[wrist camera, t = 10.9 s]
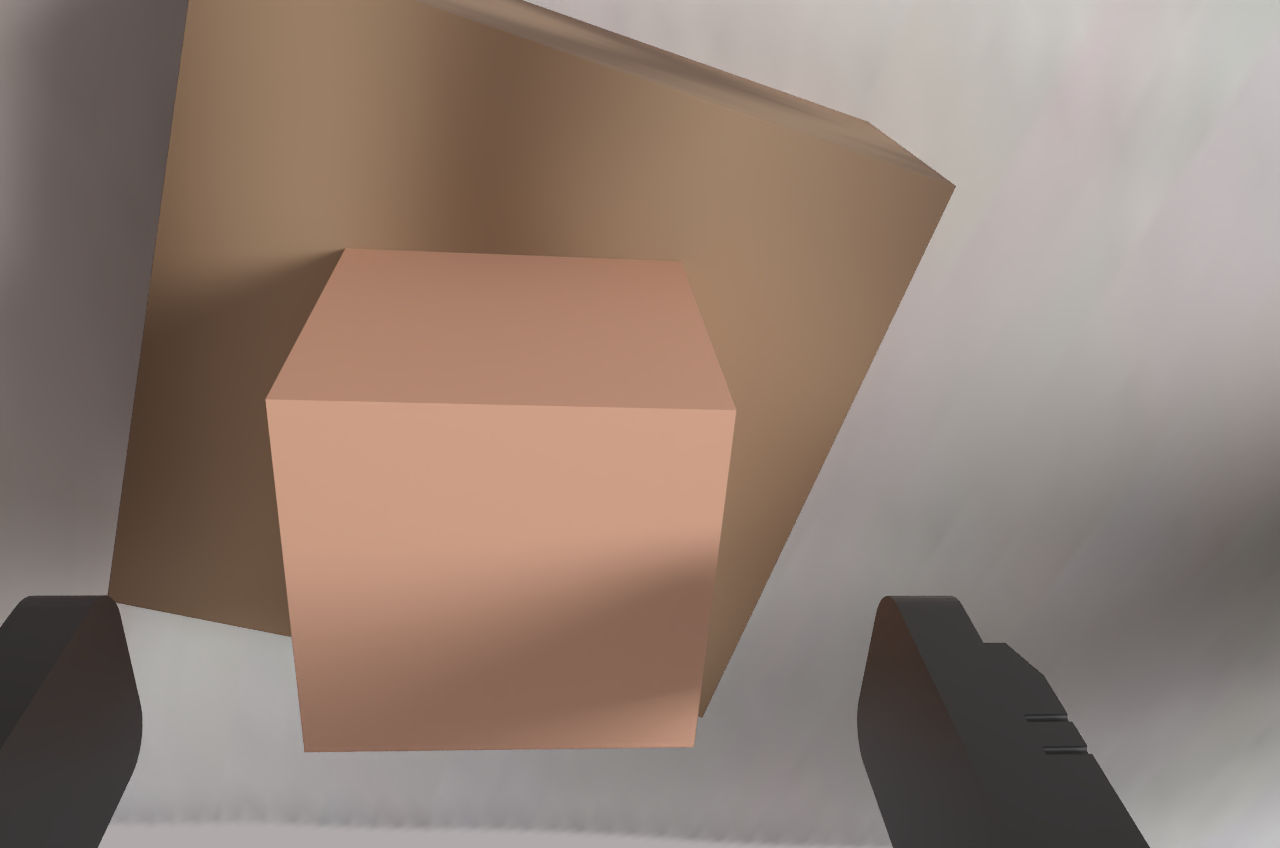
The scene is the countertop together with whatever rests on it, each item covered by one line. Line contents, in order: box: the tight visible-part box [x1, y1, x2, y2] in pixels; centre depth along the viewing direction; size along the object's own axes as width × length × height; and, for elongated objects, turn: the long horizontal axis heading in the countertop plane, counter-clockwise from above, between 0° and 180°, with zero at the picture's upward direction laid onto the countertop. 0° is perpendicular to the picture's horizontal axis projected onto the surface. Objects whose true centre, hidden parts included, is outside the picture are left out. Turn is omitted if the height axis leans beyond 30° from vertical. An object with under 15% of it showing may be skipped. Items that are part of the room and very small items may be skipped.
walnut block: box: [108, 0, 956, 717], centre depth 19 cm, size 11×11×5 cm
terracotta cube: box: [265, 248, 736, 752], centre depth 14 cm, size 5×5×5 cm
